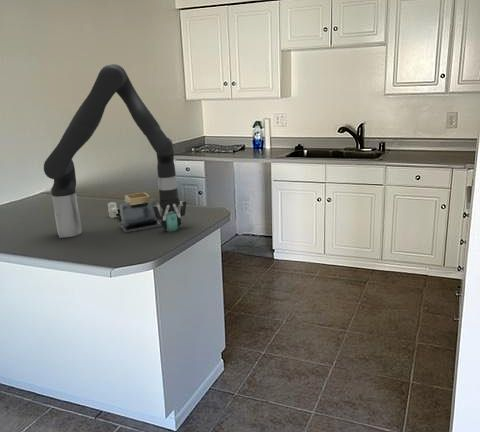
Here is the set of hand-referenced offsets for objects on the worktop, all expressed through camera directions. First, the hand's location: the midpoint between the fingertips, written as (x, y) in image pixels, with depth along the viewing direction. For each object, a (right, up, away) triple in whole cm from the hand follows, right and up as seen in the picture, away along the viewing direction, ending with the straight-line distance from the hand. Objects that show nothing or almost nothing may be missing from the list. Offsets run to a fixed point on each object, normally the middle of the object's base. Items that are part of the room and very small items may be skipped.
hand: (171, 227), depth 196 cm
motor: (-14, 0, +7) cm, 16 cm away
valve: (-28, +3, +21) cm, 35 cm away
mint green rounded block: (0, -1, 0) cm, 1 cm away
